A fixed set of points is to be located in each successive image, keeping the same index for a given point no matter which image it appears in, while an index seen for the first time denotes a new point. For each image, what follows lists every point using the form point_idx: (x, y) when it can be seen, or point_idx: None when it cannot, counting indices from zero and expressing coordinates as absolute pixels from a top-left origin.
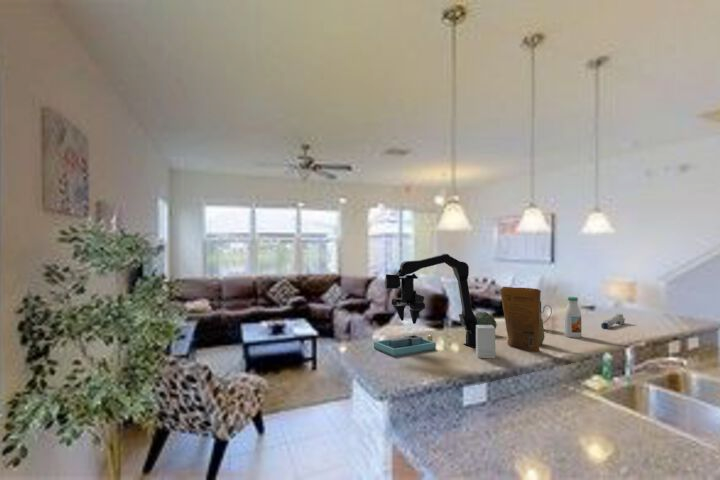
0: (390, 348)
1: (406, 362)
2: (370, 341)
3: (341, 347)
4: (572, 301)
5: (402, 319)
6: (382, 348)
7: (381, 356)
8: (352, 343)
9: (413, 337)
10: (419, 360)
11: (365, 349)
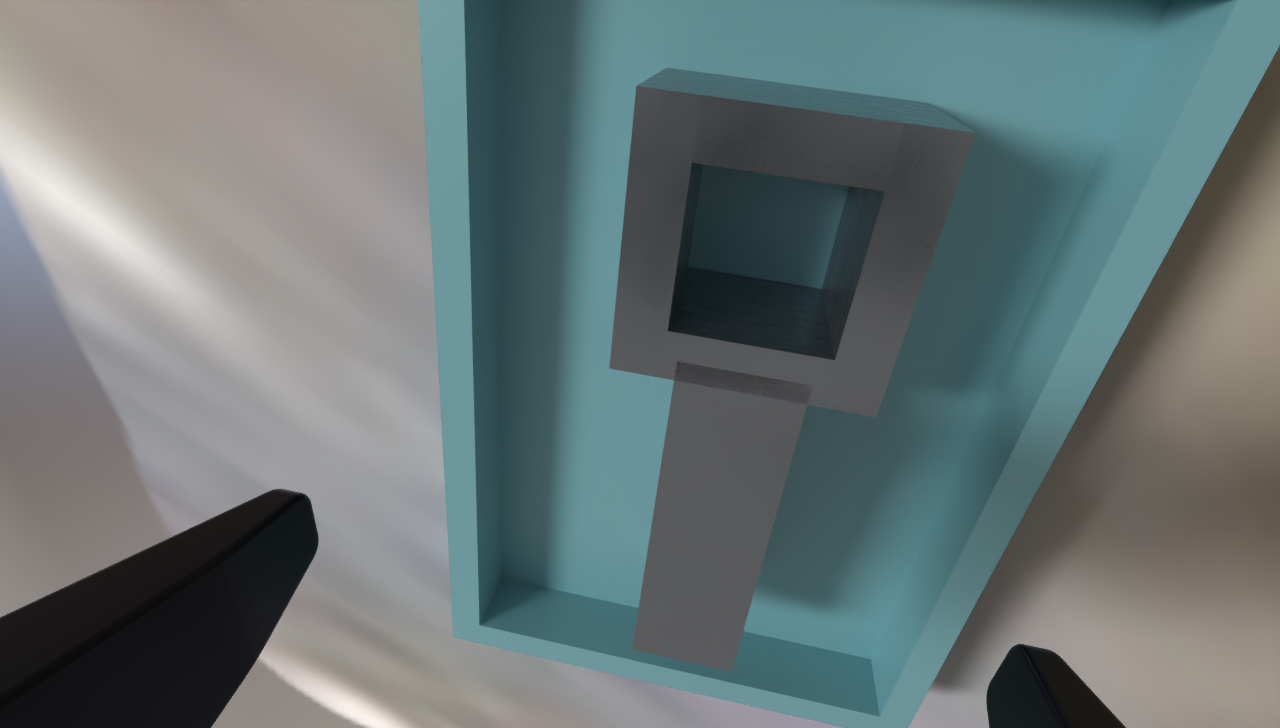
0: (829, 722)
1: (1146, 721)
2: (190, 412)
3: (318, 701)
4: None
5: (290, 550)
6: None
7: None
8: None
9: (693, 172)
10: (1260, 611)
11: None
